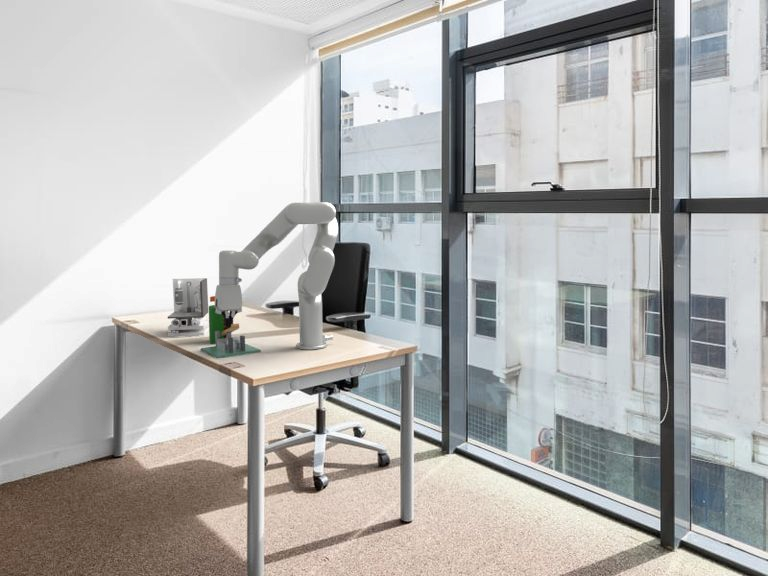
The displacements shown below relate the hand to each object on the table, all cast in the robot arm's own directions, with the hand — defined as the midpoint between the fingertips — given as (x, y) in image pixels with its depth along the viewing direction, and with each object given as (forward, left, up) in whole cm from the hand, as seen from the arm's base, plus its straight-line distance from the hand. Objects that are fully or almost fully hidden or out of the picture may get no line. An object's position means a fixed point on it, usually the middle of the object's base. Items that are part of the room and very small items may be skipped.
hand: (228, 327), depth 243 cm
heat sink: (-1, -4, -9) cm, 10 cm away
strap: (-1, -2, -2) cm, 3 cm away
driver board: (-1, -2, -10) cm, 10 cm away
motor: (-5, -23, -10) cm, 25 cm away
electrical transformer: (-1, -51, -10) cm, 52 cm away
